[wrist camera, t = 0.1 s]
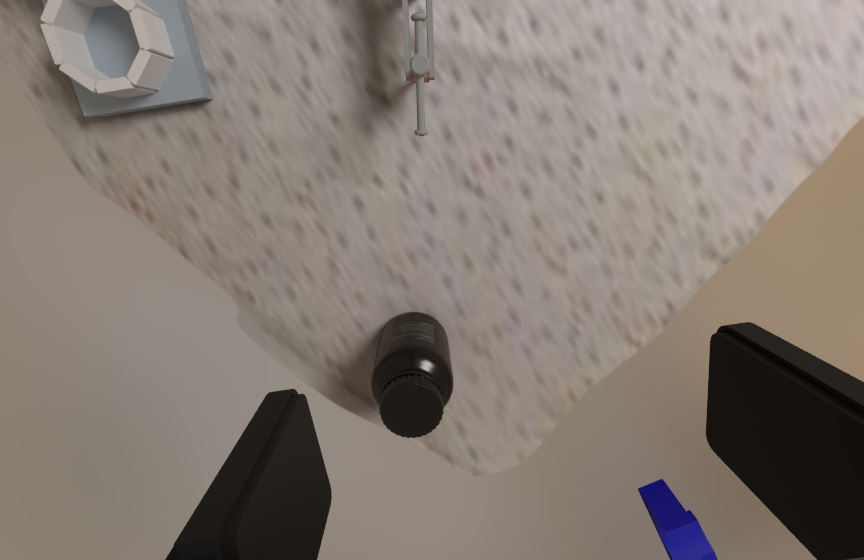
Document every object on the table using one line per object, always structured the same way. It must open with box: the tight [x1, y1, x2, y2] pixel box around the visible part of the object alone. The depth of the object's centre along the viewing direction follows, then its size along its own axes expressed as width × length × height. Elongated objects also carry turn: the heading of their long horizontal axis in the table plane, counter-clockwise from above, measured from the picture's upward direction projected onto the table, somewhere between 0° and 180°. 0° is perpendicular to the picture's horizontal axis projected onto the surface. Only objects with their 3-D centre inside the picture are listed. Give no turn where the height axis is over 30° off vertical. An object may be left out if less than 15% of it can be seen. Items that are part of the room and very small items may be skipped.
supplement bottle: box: [371, 312, 453, 438], centre depth 38 cm, size 7×7×12 cm
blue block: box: [638, 479, 717, 560], centre depth 49 cm, size 12×4×6 cm, turn 27°
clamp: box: [402, 0, 435, 136], centre depth 31 cm, size 15×2×10 cm, turn 2°
